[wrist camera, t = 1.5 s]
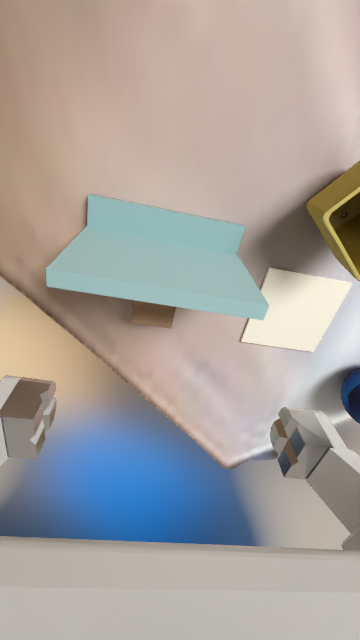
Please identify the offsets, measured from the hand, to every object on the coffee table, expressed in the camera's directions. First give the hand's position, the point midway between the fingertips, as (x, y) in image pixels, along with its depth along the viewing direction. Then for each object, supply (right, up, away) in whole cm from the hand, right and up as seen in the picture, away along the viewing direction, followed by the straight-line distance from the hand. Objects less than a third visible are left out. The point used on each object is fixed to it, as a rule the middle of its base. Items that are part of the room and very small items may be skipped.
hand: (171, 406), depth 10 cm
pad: (+17, +4, +31) cm, 35 cm away
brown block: (-3, +7, +28) cm, 29 cm away
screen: (-1, +14, +24) cm, 27 cm away
